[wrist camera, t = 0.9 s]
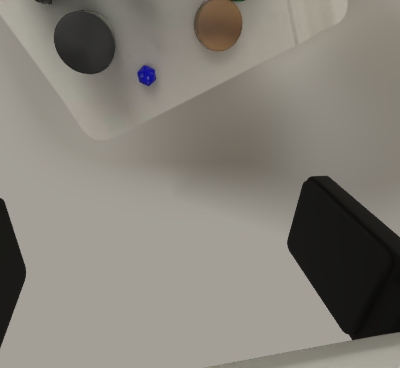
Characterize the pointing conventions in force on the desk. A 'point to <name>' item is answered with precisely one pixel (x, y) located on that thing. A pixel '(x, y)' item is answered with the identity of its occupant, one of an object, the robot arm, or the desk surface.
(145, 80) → the die
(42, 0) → the rock
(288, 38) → the desk surface
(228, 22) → the brown round disc
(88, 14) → the lid
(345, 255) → the robot arm
